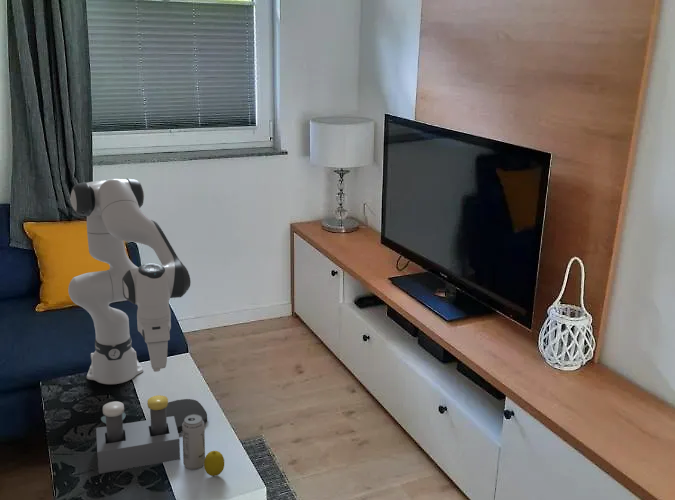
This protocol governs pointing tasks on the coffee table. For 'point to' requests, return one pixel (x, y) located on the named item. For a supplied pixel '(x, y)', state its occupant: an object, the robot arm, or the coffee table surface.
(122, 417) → the pacifier
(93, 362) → the robot arm
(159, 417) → the knob mustard
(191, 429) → the energy drink can
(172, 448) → the mount
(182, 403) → the media streaming box
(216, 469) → the lemon
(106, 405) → the knob white
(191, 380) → the coffee table surface
